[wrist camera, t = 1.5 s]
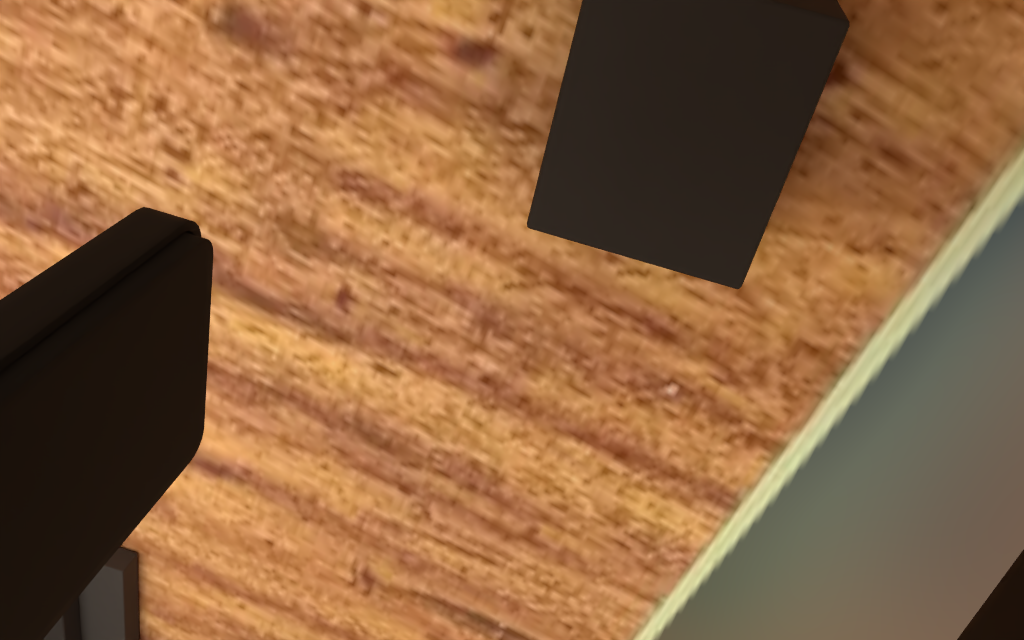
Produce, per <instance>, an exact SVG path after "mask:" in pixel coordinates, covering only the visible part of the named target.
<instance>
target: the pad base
mask: <svg viewBox="0 0 1024 640" xmlns="http://www.w3.org/2000/svg"><path fill="white" fill-rule="evenodd" d="M43 640H139V608H138V560H137V553H135V552H132V551H129V550H126V549H123V548H120V547H119V548H118V549H117V551H116V552H115V553H114V554H113V556H112V557H111V558H110V559H109V560H108V562H107V563H106V564H105V565H104V566H103V568H102V569H101V570H100V571H99V572H98V574H97V575H96V576H95V577H94V578H93V580H92V581H91V582H90V583H89V585H88V586H87V587H86V588H85V589H84V591H83V592H82V593H81V594H80V595H79V597H78V598H77V599H76V600H75V601H74V603H73V604H72V605H71V606H70V607H69V609H68V610H67V611H66V612H65V613H64V615H63V616H62V617H61V618H60V620H59V621H58V622H57V623H56V624H55V626H54V627H53V628H52V629H51V630H50V632H49V633H48V634H47V635H46V636H45V638H44V639H43Z"/></svg>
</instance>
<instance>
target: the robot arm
mask: <svg viewBox="0 0 1024 640" xmlns="http://www.w3.org/2000/svg"><path fill="white" fill-rule="evenodd" d="M212 269H213V246H212V243H211V242H210V241H209V240H208V239H205V238H202V237H201V232H200V229H199V226H198V225H197V224H196V223H195V222H194V221H190V220H187V219H184V218H181V217H177V216H174V215H171V214H167V213H164V212H161V211H157V210H154V209H151V208H146V207H143V208H140V209H138V210H136V211H134V212H133V213H131V214H130V215H128V216H127V217H125V218H124V219H122V220H121V221H119V222H118V223H116V224H115V225H113V226H112V227H110V228H109V229H107V230H106V231H104V232H103V233H101V234H100V235H98V236H97V237H95V238H93V239H92V240H90V241H89V242H87V243H86V244H84V245H83V246H81V247H80V248H78V249H77V250H75V251H74V252H72V253H71V254H69V255H68V256H66V257H65V258H63V259H62V260H60V261H59V262H57V263H56V264H54V265H53V266H51V267H50V268H48V269H47V270H45V271H44V272H42V273H41V274H39V275H38V276H36V277H35V278H33V279H32V280H30V281H29V282H27V283H25V284H24V285H22V286H21V287H19V288H18V289H16V290H15V291H13V292H12V293H10V294H9V295H7V296H6V297H4V298H3V299H1V300H0V640H43V639H44V638H45V636H46V635H47V634H48V633H49V632H50V630H51V629H52V628H53V627H54V626H55V624H56V623H57V622H58V621H59V620H60V618H61V617H62V616H63V615H64V613H65V612H66V611H67V610H68V609H69V607H70V606H71V605H72V604H73V603H74V601H75V600H76V599H77V598H78V597H79V595H80V594H81V593H82V592H83V591H84V589H85V588H86V587H87V586H88V585H89V583H90V582H91V581H92V580H93V578H94V577H95V576H96V575H97V574H98V572H99V571H100V570H101V569H102V568H103V566H104V565H105V564H106V563H107V562H108V560H109V559H110V558H111V557H112V556H113V554H114V553H115V552H116V551H117V549H118V548H119V547H120V546H121V545H122V543H123V542H124V541H125V540H126V539H127V537H128V536H129V535H130V534H131V533H132V531H133V530H134V529H135V528H136V527H137V525H138V524H139V523H140V522H141V520H142V519H143V518H144V517H145V516H146V514H147V513H148V512H149V511H150V510H151V508H152V507H153V506H154V505H155V504H156V502H157V501H158V500H159V499H160V498H161V496H162V495H163V494H164V493H165V491H166V490H167V489H168V488H169V487H170V485H171V484H172V483H173V482H174V481H175V479H176V478H177V477H178V476H179V475H180V473H181V472H182V471H183V470H184V469H185V467H186V466H187V465H188V464H189V463H190V461H191V460H192V458H193V457H194V456H195V454H196V452H197V450H198V448H199V445H200V443H201V440H202V436H203V431H204V419H205V400H206V381H207V363H208V344H209V325H210V306H211V288H212ZM957 640H1024V550H1023V551H1022V553H1021V554H1020V555H1019V557H1018V558H1017V559H1016V561H1015V562H1014V563H1013V565H1012V566H1011V567H1010V569H1009V570H1008V571H1007V573H1006V574H1005V576H1004V577H1003V578H1002V580H1001V581H1000V582H999V584H998V585H997V587H996V588H995V589H994V590H993V592H992V593H991V594H990V596H989V597H988V599H987V600H986V601H985V603H984V604H983V605H982V607H981V608H980V609H979V611H978V612H977V613H976V615H975V616H974V617H973V619H972V620H971V622H970V623H969V624H968V626H967V627H966V628H965V630H964V631H963V632H962V634H961V635H960V637H959V638H958V639H957Z"/></svg>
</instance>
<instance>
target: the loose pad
mask: <svg viewBox="0 0 1024 640" xmlns="http://www.w3.org/2000/svg"><path fill="white" fill-rule="evenodd" d="M848 28H849V21H848V19H847V17H846V15H845V13H844V12H843V10H842V8H841V6H840V4H839V3H838V1H837V0H583V1H582V5H581V9H580V13H579V17H578V21H577V25H576V29H575V33H574V37H573V41H572V45H571V49H570V53H569V57H568V61H567V65H566V69H565V73H564V77H563V81H562V85H561V89H560V93H559V97H558V101H557V105H556V109H555V113H554V117H553V121H552V125H551V129H550V133H549V137H548V141H547V145H546V149H545V153H544V157H543V161H542V165H541V169H540V173H539V177H538V181H537V185H536V189H535V193H534V197H533V201H532V205H531V209H530V213H529V217H528V221H527V227H528V228H530V229H533V230H537V231H540V232H544V233H547V234H550V235H554V236H557V237H561V238H564V239H567V240H571V241H574V242H578V243H581V244H585V245H588V246H591V247H595V248H598V249H602V250H605V251H609V252H612V253H615V254H619V255H622V256H626V257H629V258H632V259H636V260H639V261H643V262H646V263H650V264H653V265H656V266H660V267H663V268H667V269H670V270H673V271H677V272H680V273H684V274H687V275H691V276H694V277H697V278H701V279H704V280H708V281H711V282H715V283H718V284H721V285H725V286H728V287H732V288H735V289H740V287H741V286H742V284H743V282H744V280H745V277H746V275H747V272H748V270H749V268H750V265H751V263H752V260H753V258H754V255H755V253H756V251H757V248H758V246H759V243H760V241H761V239H762V236H763V234H764V231H765V229H766V226H767V224H768V222H769V219H770V217H771V214H772V212H773V210H774V207H775V205H776V202H777V200H778V198H779V195H780V193H781V190H782V188H783V185H784V183H785V181H786V178H787V176H788V173H789V171H790V169H791V166H792V164H793V161H794V159H795V156H796V154H797V152H798V149H799V147H800V144H801V142H802V140H803V137H804V135H805V132H806V130H807V127H808V125H809V123H810V120H811V118H812V115H813V113H814V111H815V108H816V106H817V103H818V101H819V98H820V96H821V94H822V91H823V89H824V86H825V84H826V82H827V79H828V77H829V74H830V72H831V70H832V67H833V65H834V62H835V60H836V57H837V55H838V53H839V50H840V48H841V45H842V43H843V41H844V38H845V36H846V33H847V31H848Z"/></svg>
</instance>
